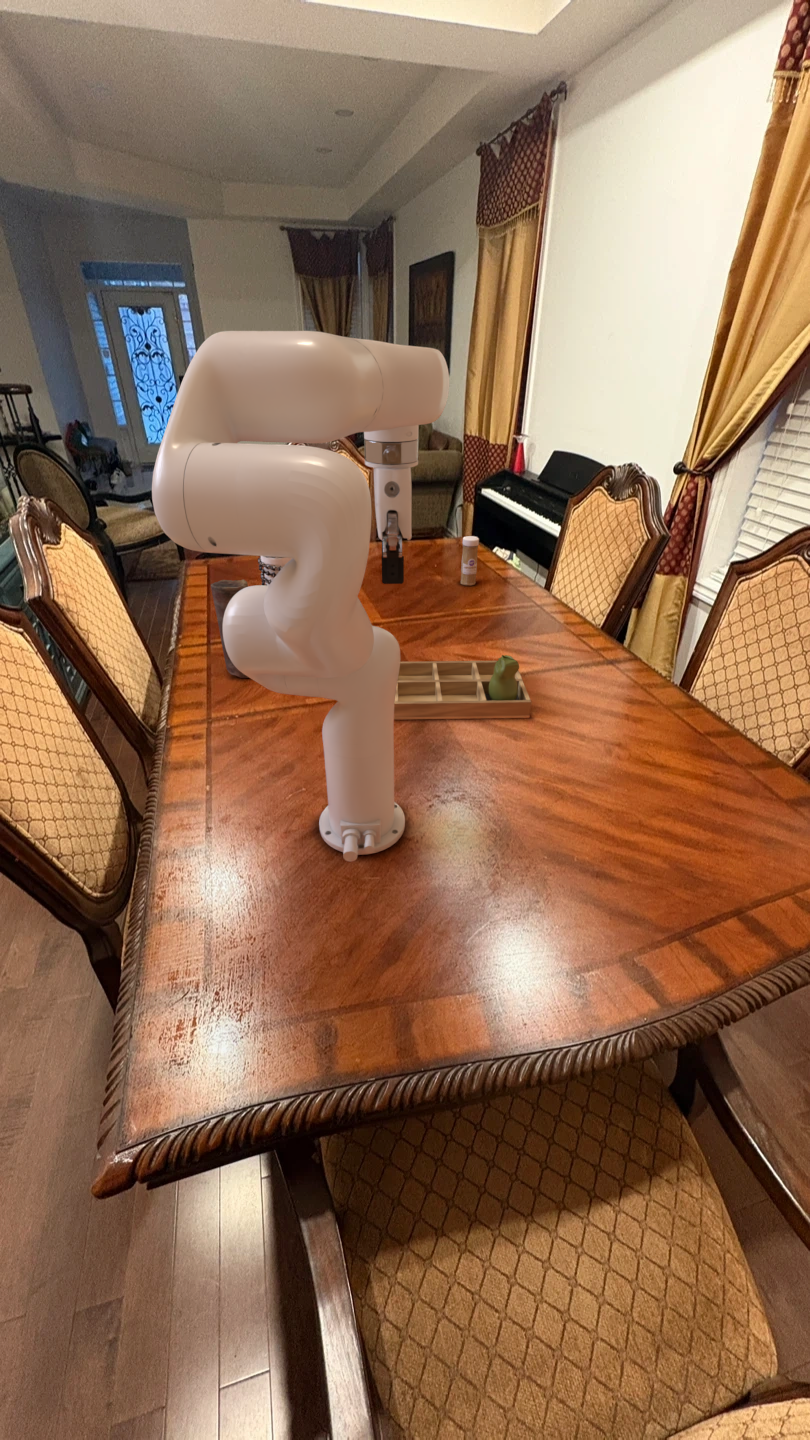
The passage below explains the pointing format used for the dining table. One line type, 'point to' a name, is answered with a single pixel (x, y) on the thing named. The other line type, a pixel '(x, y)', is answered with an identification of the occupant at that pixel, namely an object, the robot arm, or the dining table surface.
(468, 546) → the sprinkles bottle
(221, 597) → the candle
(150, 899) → the dining table surface
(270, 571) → the decorative candle
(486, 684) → the wooden compartment tray
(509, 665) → the pear
